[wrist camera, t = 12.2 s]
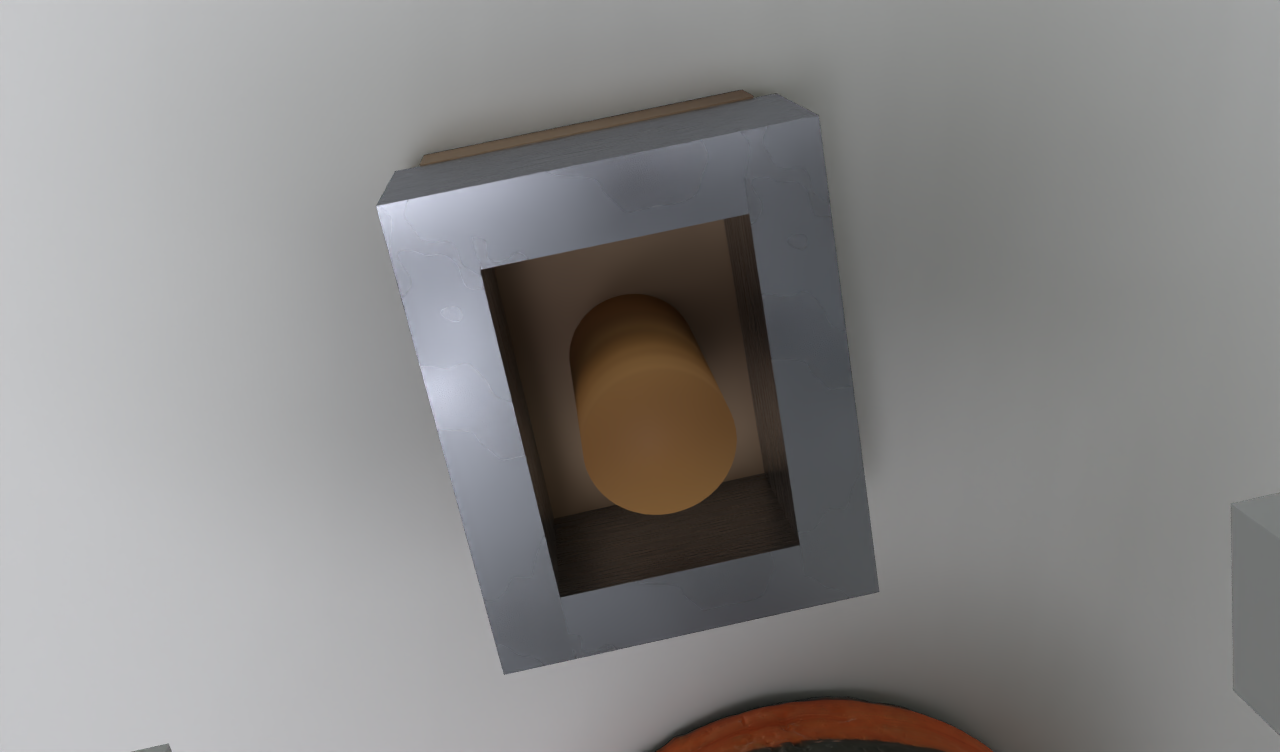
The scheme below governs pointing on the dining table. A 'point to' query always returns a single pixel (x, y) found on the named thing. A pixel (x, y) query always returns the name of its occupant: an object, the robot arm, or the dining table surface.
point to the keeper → (631, 357)
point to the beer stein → (826, 730)
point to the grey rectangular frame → (775, 354)
